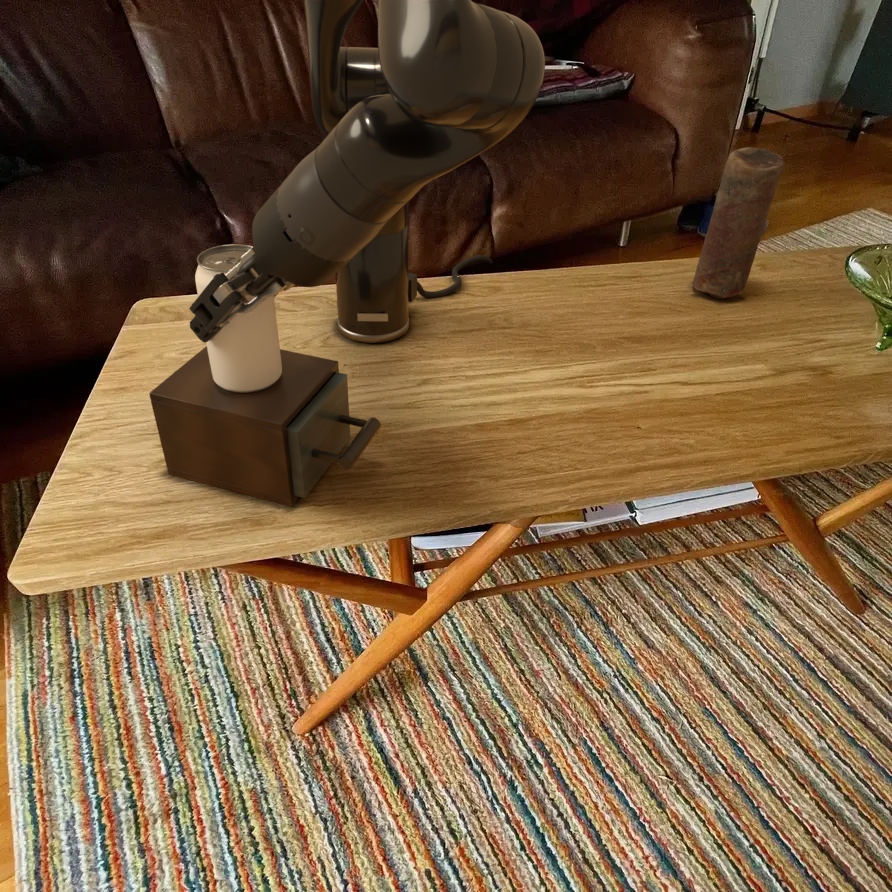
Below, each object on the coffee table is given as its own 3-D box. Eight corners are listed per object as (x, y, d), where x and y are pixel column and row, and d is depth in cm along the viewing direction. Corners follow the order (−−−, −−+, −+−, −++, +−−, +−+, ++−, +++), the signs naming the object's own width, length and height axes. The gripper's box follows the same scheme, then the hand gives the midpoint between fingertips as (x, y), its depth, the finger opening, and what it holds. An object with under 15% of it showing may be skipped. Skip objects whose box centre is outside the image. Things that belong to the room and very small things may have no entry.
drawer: (388, 446, 79) (387, 382, 74) (345, 509, 71) (341, 442, 66) (245, 412, 83) (235, 350, 78) (190, 468, 75) (175, 403, 70)
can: (225, 357, 75) (205, 240, 68) (289, 361, 75) (277, 244, 68) (203, 392, 70) (180, 269, 63) (272, 397, 70) (257, 274, 62)
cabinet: (343, 438, 81) (338, 360, 75) (291, 506, 72) (281, 424, 66) (230, 412, 84) (218, 335, 78) (168, 474, 75) (148, 393, 69)
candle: (752, 292, 113) (793, 154, 101) (731, 308, 109) (772, 166, 97) (704, 277, 117) (738, 142, 105) (682, 292, 113) (716, 153, 100)
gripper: (346, 151, 62) (251, 256, 74) (227, 201, 52) (138, 314, 64) (402, 227, 64) (300, 319, 75) (296, 290, 53) (196, 386, 65)
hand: (226, 316), depth 69 cm, fingers closed on can, 6 cm apart
